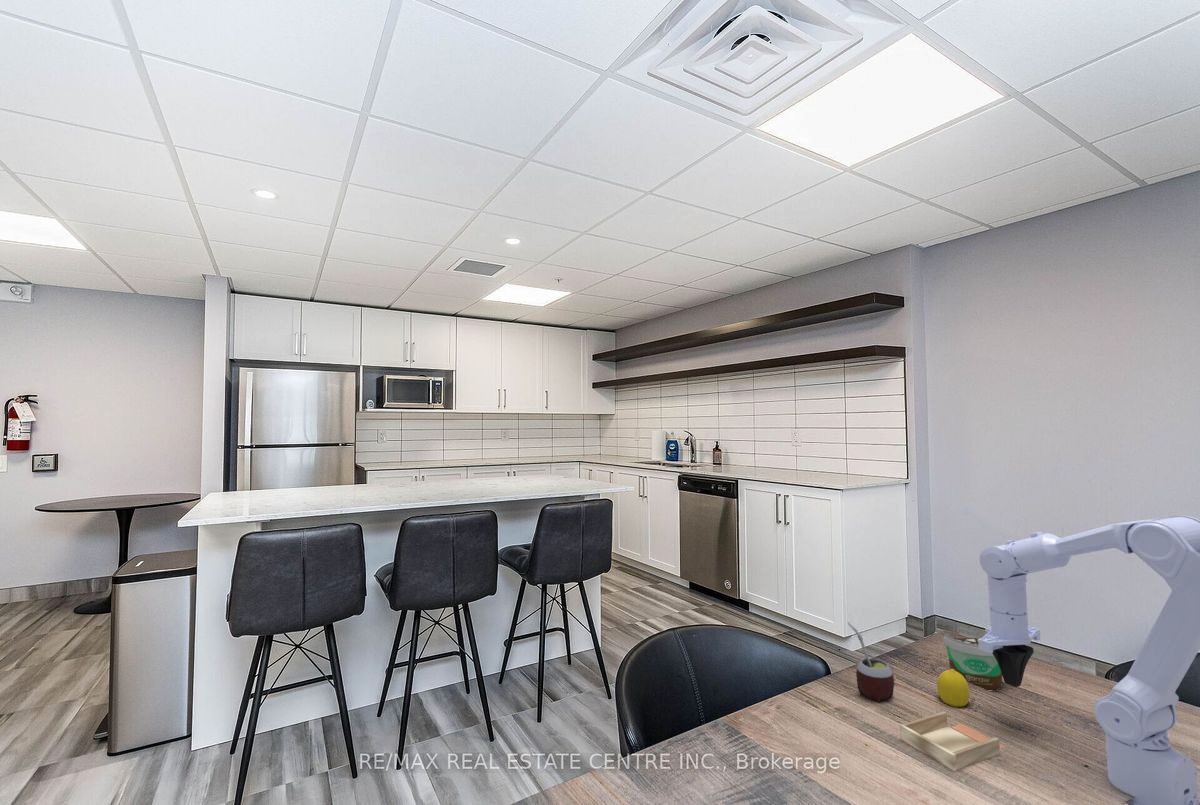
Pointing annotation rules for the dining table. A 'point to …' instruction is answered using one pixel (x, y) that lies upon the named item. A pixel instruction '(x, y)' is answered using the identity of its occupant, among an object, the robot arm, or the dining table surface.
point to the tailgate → (973, 733)
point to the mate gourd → (873, 676)
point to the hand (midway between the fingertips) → (1012, 684)
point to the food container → (973, 662)
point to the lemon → (953, 688)
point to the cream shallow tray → (946, 742)
